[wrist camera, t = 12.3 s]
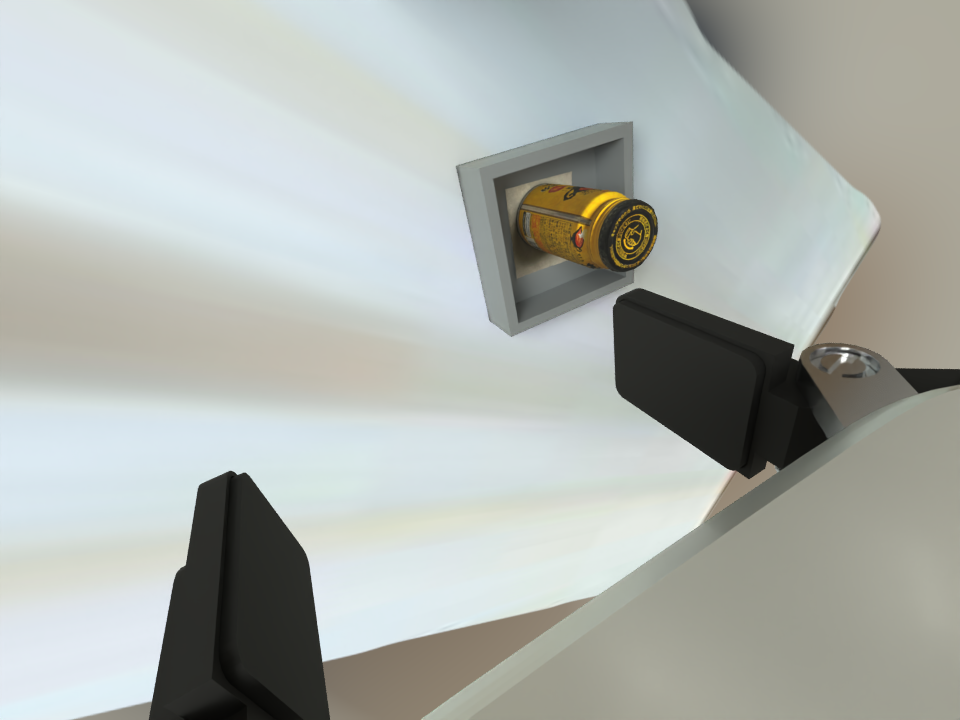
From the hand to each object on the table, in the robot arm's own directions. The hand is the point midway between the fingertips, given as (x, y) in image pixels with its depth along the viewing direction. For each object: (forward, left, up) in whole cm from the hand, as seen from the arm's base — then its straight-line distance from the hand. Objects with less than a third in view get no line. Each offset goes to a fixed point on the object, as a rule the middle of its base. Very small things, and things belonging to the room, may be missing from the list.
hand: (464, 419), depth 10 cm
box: (+6, +20, -28) cm, 35 cm away
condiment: (+6, +20, -28) cm, 35 cm away
